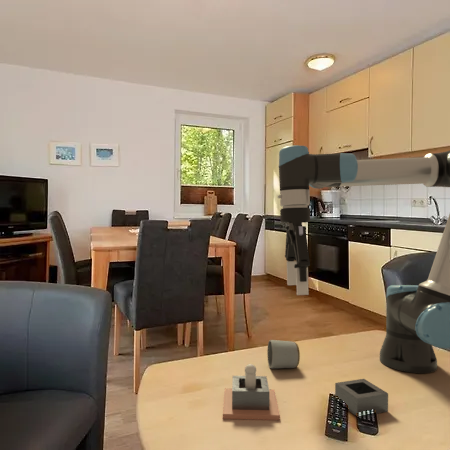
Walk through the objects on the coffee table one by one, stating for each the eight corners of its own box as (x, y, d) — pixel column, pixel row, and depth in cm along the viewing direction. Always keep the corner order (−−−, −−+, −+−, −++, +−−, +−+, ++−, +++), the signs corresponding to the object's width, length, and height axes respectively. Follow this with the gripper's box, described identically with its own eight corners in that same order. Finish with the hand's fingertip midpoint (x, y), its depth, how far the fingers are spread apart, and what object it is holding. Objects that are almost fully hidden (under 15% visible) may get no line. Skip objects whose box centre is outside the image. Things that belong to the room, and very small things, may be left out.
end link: (266, 393, 88) (266, 376, 88) (269, 410, 80) (269, 391, 80) (232, 392, 89) (232, 375, 88) (232, 409, 81) (232, 391, 80)
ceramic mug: (301, 371, 103) (301, 343, 103) (271, 372, 103) (272, 344, 103) (290, 358, 114) (290, 333, 114) (264, 359, 113) (264, 333, 113)
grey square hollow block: (363, 395, 90) (364, 378, 90) (387, 411, 82) (388, 393, 82) (335, 400, 87) (335, 382, 87) (357, 417, 80) (357, 398, 80)
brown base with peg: (274, 393, 90) (274, 355, 90) (279, 420, 78) (280, 375, 78) (224, 392, 91) (224, 354, 91) (222, 418, 79) (222, 374, 79)
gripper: (273, 209, 109) (275, 281, 109) (288, 205, 84) (291, 300, 84) (299, 208, 109) (301, 281, 109) (322, 204, 84) (324, 299, 84)
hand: (297, 289), depth 96 cm, fingers open, 13 cm apart
